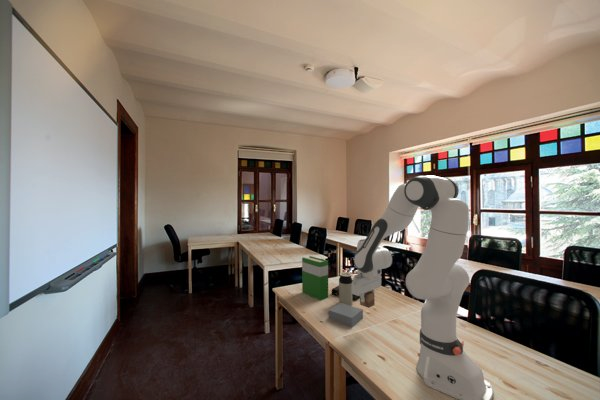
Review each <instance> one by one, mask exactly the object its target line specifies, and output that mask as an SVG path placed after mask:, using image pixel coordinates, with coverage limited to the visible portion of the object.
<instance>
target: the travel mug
mask: <svg viewBox="0 0 600 400" xmlns="http://www.w3.org/2000/svg"><path fill="white" fill-rule="evenodd" d="M352 275H353V274H352V273H350V272H348V271H347V272H346V271H345V272H344V271H343V272H340V273H339V279H338V286H339V296H338V300H339V301H338V303H343V304H346V305H350V306H352V305H353V300H352V280H353V278H352Z"/></svg>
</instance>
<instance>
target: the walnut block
mask: <svg viewBox="0 0 600 400" xmlns="http://www.w3.org/2000/svg"><path fill="white" fill-rule="evenodd" d="M364 298H366V302H361V298H359V305H360V306H362V307H365V308H368V309H370V308H371V307H373V306H376V305H375V291H374V292H371V291H369V292H366V293H364Z"/></svg>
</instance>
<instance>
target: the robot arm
mask: <svg viewBox="0 0 600 400" xmlns="http://www.w3.org/2000/svg"><path fill="white" fill-rule="evenodd" d="M459 191H460V190H459V186H458V185H457V183H456V182H455V181H454V180H452V179H451V178H448V177H441V176H436V175H418V176H415V177H412V178H410V179H409V180H408V181H407V182H406V183H403V184H400V185H399V186H397V188H396V190H394V193H393V194H392V196H391V198H390V200H389V202H388V204H387V206H386V208H385V210H384V212H383V214H382V215H381V216H380V217H379V218H378V219H377V221H375V223H374V224H373V226H372V227H371V228H370V231H369V233H368V234H367V236H366V238H365V239H360V240H358V241H357V245H356V252H355V254H354V256H353V263H354V266H355V267H356V269H357V272H356V273H357V274H355V275H354V277H353V278H352V280H353V281H352V294H354V295H357V296H360V298H361V302H366V298H364V293H366V292H369V291H371V292H374V293H375V290H376V289H379V288H381V286H382V274H381V273H382V270H383V269H387V268H389V267H391V266H392V264H393V255H392V252H391V251H390V250H389V249H388V248H386V247H383V246H381V244H382V242H383V241H384V240H385V239H386V238H387V237H389V236H391V235H392V234H395V233H398V232H400V231H403V230H405V229H407V228H408V227H409V225H410V224H411V222H412V221H413V220H414V217H415V215H416V213H417V211H418V209H419V208H420V209H422V210H424V211H429V210H430V213H431V221H430V224H429V225H430V226H429V230H428V231H429V232H428V236H427V240H426V245H425V247H424V250H423V252H422V254H421V256H420V258H419V260H418V261H417V263H416V265H415V266H414V267H413V269H411V270H410V271H409V272H408V273H407V274H406V277H405V286H406V289H407V290H408V292H409V294H410V295H411V296H413V297H414V298H415V299H419V300H426V301H425V303H424V304H423V305H422V307H421V309H420V330H419V345H420V348H419V355H418V356H419V357H418V360H417V363H416V371H417V372H418V374H419V375H420V376H421V377H422V379H423V382H424V384H425V385H426V386H427V387H429V388H431V389H434V390H436V391H439V392H441V393H443V394H446V395H448V396H450V397H453V398H455V399H458V400H493V398H494V388H493V386H492V384H491V383H490V382H489V380H486V379H485V378H484V373H483V371H482V367H481V366H480V365H478V364H477V362H476V361H474V360H473V359H472V358H471V357H470V356H469V355H468V354H467V353H466V352H465V351H464V342H465V341H464V340H462V341H460V339H458V337H457V317H458V311H459V308H460V307H459V306H460V304H461V301H462V297H463V295H464V292H465V290H466V289H467V288H468V287H469V285H470V276H469V274H468V272H467V270H466V269H465V268H463V267H462V266H461V265H459V264H456V263H457V262H458V260H459V259H460V258H461V257H462V256H463V252H464V249H465V244H466V243H465V242H466V239H467V234H468V229H469V218H470V217H469V215H470V213H469V211H470V210H469V206H468V204H467V203H466V202H464V200H461V199H459V198H458V195H459ZM360 298H359V299H360Z"/></svg>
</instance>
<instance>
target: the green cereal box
mask: <svg viewBox="0 0 600 400" xmlns="http://www.w3.org/2000/svg"><path fill="white" fill-rule="evenodd" d="M301 270H302V271H301V276H302V278H301V279H302V280H301V286H302V288H301V291H302V292H303V293H302V294H305V295H307V296H309V297H311V298H313V297H314V298H313V299H315V298H316V300H318V301H323V300H325V299H328V298H329V260H328V259H327V260H326V259H324V258H319V257H316V256H311V255H309V256H308V257H301Z"/></svg>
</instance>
